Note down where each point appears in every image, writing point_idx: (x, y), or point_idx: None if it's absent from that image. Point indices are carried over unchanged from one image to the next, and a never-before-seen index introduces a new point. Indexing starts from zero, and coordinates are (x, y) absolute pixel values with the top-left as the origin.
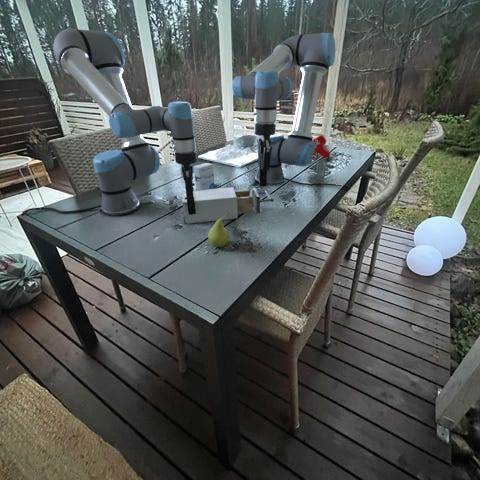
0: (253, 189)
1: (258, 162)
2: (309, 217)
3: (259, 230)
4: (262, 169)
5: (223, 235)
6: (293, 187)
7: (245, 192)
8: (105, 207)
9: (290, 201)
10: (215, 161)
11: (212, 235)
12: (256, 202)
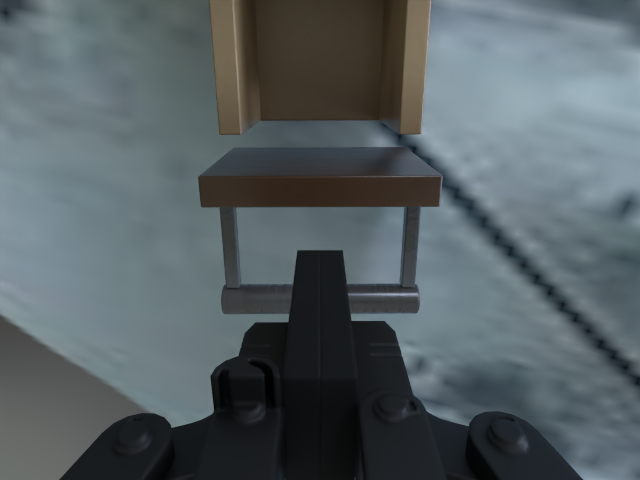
0: (400, 181)
1: (534, 472)
2: None
3: (40, 117)
4: (116, 440)
5: None
6: (622, 477)
7: (399, 83)
8: None
9: (423, 405)
10: None
11: None
12: (233, 162)
